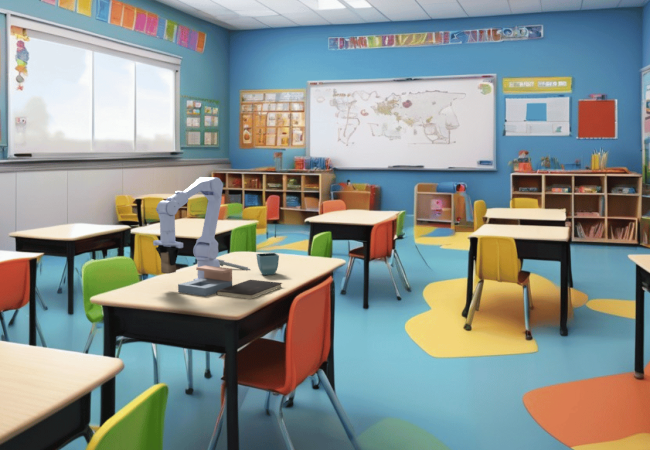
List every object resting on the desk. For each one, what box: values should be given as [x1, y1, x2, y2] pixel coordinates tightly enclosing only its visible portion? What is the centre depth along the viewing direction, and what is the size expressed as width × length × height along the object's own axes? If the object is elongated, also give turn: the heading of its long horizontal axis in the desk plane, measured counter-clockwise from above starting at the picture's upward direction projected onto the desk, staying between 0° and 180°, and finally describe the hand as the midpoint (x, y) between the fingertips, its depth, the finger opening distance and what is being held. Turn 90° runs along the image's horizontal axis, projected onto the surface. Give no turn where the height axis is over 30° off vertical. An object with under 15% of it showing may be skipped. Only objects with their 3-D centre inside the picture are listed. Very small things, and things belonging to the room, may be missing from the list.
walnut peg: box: [160, 252, 177, 274], centre depth 240 cm, size 4×4×8 cm
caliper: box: [216, 258, 251, 271], centre depth 284 cm, size 20×1×6 cm, turn 76°
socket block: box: [177, 278, 233, 297], centre depth 239 cm, size 16×14×3 cm
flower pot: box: [256, 252, 280, 276], centre depth 271 cm, size 9×9×9 cm
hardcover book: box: [215, 279, 283, 300], centre depth 238 cm, size 16×23×2 cm
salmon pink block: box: [196, 265, 233, 282], centre depth 243 cm, size 6×14×5 cm, turn 59°
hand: (168, 264), depth 240 cm, fingers closed on walnut peg, 4 cm apart
